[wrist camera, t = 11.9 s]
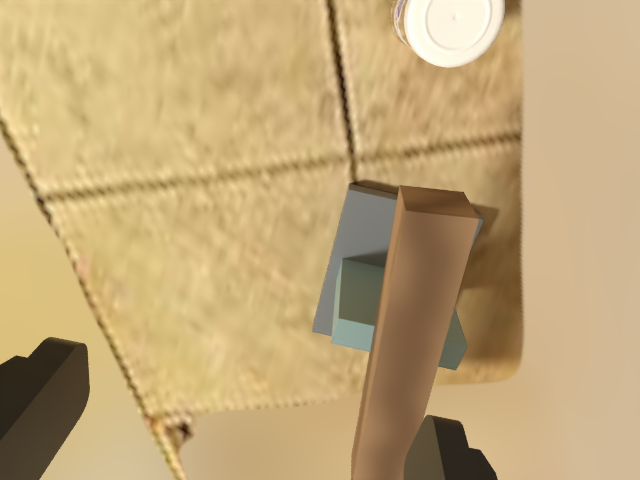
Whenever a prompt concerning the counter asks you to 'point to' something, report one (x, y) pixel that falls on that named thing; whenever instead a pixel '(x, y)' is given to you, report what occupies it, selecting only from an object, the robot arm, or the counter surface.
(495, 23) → the sprinkles bottle
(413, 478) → the robot arm
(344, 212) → the ridge stand
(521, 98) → the counter surface
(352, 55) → the counter surface
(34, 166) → the counter surface
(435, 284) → the walnut bar
